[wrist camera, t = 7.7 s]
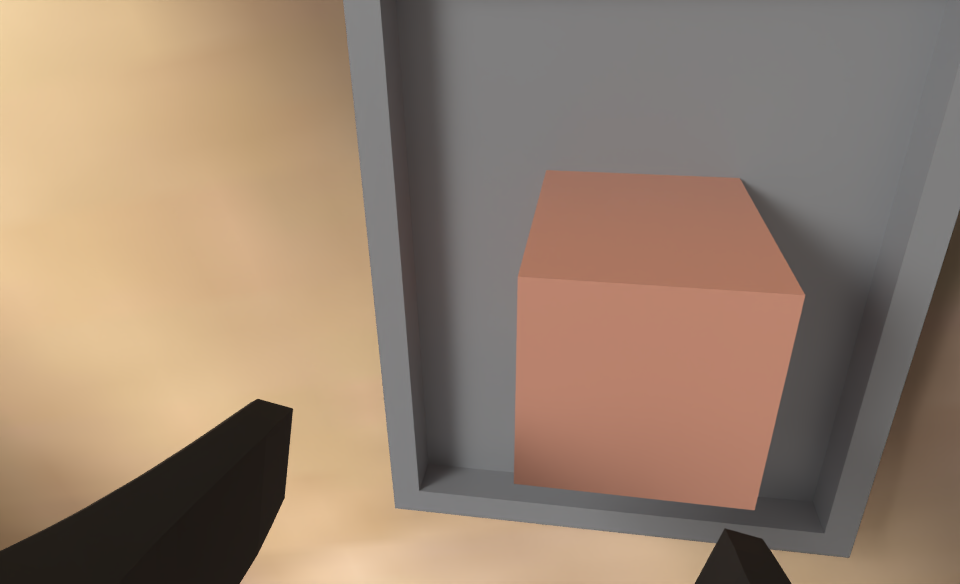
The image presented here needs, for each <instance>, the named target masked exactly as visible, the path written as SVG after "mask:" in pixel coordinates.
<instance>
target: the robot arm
mask: <svg viewBox="0 0 960 584" xmlns="http://www.w3.org/2000/svg"><path fill="white" fill-rule="evenodd" d="M292 413H293V408H289V407H285V406H282V405H278V404H274V403H271V402H267V401H264V400H260V399H257V400H255V401H253V402H251V403H250V404H248V405H247V406H245V407H244V408H242V409H241V410H239V411H238V412H236V413H235V414H233V415H232V416H231V417H229V418H228V419H226V420H225V421H223V422H222V423H220V424H219V425H217V426H216V427H215V428H213V429H212V430H210V431H209V432H207V433H206V434H204V435H203V436H201V437H200V438H198V439H197V440H195V441H194V442H192V443H191V444H189V445H188V446H186V447H185V448H183V449H182V450H180V451H179V452H177V453H175V454H174V455H172V456H171V457H169V458H168V459H166V460H164V461H163V462H161V463H160V464H158V465H157V466H155V467H153V468H152V469H150V470H149V471H147V472H146V473H144V474H142V475H141V476H139V477H137V478H136V479H134V480H132V481H131V482H129V483H127V484H126V485H124V486H122V487H120V488H119V489H117V490H115V491H113V492H112V493H110V494H108V495H107V496H105V497H103V498H101V499H100V500H98V501H96V502H94V503H93V504H91V505H89V506H88V507H86V508H84V509H82V510H80V511H78V512H77V513H75V514H73V515H71V516H69V517H67V518H65V519H63V520H62V521H60V522H58V523H56V524H54V525H52V526H50V527H48V528H46V529H44V530H42V531H40V532H38V533H36V534H34V535H32V536H30V537H28V538H26V539H24V540H22V541H20V542H18V543H16V544H14V545H12V546H10V547H8V548H5V549H3V550H1V551H0V584H240V582H241V581H242V579H243V577H244V576H245V574H246V573H247V571H248V569H249V568H250V566H251V564H252V563H253V561H254V560H255V558H256V556H257V555H258V553H259V551H260V549H261V547H262V544H263V542H264V540H265V538H266V536H267V534H268V532H269V530H270V528H271V526H272V524H273V522H274V520H275V517H276V515H277V513H278V511H279V509H280V507H281V505H282V502H283V500H284V498H285V487H286V477H287V466H288V455H289V445H290V434H291V424H292ZM695 584H791V582H790V581H789V579H788V577H787V576H786V574H785V573H784V571H783V569H782V568H781V566H780V565H779V563H778V562H777V560H776V558H775V557H774V555H773V554H772V552H771V551H770V549H769V548H768V546H767V545H766V543H765V542H764V540H763V539H762V538H758V537H755V536H751V535H747V534H744V533H740V532H737V531H733V530H729V529H726V528H725V529H724V530H723V532H722V534H721V536H720V538H719V540H718V541H717V543H716V545H715V547H714V549H713V551H712V553H711V554H710V556H709V558H708V560H707V562H706V564H705V566H704V567H703V569H702V571H701V573H700V575H699V577H698V579H697V580H696V582H695Z"/></svg>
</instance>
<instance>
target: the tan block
mask: <svg viewBox="0 0 960 584" xmlns="http://www.w3.org/2000/svg"><path fill="white" fill-rule="evenodd" d="M804 299H805V294H804V292H803V290H802V288H801V287H800V285H799V283H798V281H797V280H796V278H795V276H794V274H793V272H792V271H791V269H790V267H789V265H788V263H787V262H786V260H785V258H784V256H783V255H782V253H781V251H780V249H779V247H778V246H777V244H776V242H775V240H774V238H773V237H772V235H771V233H770V231H769V230H768V228H767V226H766V224H765V222H764V221H763V219H762V217H761V215H760V213H759V212H758V210H757V208H756V206H755V205H754V203H753V201H752V199H751V197H750V196H749V194H748V192H747V190H746V188H745V187H744V185H743V183H742V181H741V180H740V178H727V177H703V176H678V175H654V174H629V173H605V172H580V171H556V170H546V173H545V177H544V180H543V184H542V188H541V192H540V195H539V199H538V203H537V206H536V210H535V214H534V218H533V221H532V225H531V229H530V233H529V236H528V240H527V244H526V248H525V251H524V255H523V259H522V263H521V266H520V270H519V274H518V288H517V341H516V394H515V446H514V484H520V485H529V486H538V487H548V488H557V489H566V490H575V491H584V492H593V493H602V494H611V495H620V496H629V497H638V498H647V499H656V500H665V501H674V502H683V503H693V504H702V505H711V506H720V507H729V508H738V509H747V510H755V506H756V502H757V498H758V494H759V489H760V485H761V481H762V477H763V472H764V468H765V464H766V460H767V455H768V451H769V447H770V443H771V439H772V434H773V430H774V426H775V422H776V417H777V413H778V409H779V405H780V400H781V396H782V392H783V388H784V383H785V379H786V375H787V371H788V366H789V362H790V358H791V354H792V349H793V345H794V341H795V337H796V333H797V328H798V324H799V320H800V316H801V311H802V307H803V303H804Z"/></svg>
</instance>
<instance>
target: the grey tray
mask: <svg viewBox="0 0 960 584" xmlns="http://www.w3.org/2000/svg"><path fill="white" fill-rule="evenodd" d="M343 2H344V12H345V22H346V32H347V41H348V51H349V61H350V71H351V81H352V90H353V100H354V110H355V120H356V129H357V139H358V149H359V159H360V168H361V178H362V188H363V198H364V207H365V217H366V227H367V237H368V246H369V256H370V266H371V276H372V285H373V295H374V305H375V315H376V324H377V334H378V344H379V354H380V364H381V373H382V383H383V393H384V403H385V412H386V422H387V432H388V442H389V451H390V461H391V471H392V481H393V490H394V500H395V508H399V509H408V510H417V511H426V512H435V513H444V514H453V515H463V516H472V517H481V518H490V519H499V520H508V521H517V522H526V523H536V524H545V525H554V526H563V527H572V528H581V529H590V530H599V531H609V532H618V533H627V534H636V535H645V536H654V537H663V538H672V539H682V540H691V541H700V542H709V543H717V541H718V540H719V538H720V536H721V534H722V532H723V530H724V529H725V528H726V529H729V530H733V531H737V532H740V533H744V534H747V535H751V536H755V537H758V538H762V539H763V540H764V542H765V543H766V545H767V546H768V548H769V549H773V550H782V551H791V552H800V553H809V554H819V555H828V556H837V557H846V558H849V557H850V554H851V551H852V548H853V545H854V541H855V538H856V535H857V532H858V529H859V526H860V523H861V519H862V516H863V513H864V510H865V507H866V504H867V500H868V497H869V494H870V491H871V488H872V485H873V481H874V478H875V475H876V472H877V469H878V466H879V462H880V459H881V456H882V453H883V450H884V447H885V444H886V440H887V437H888V434H889V431H890V428H891V425H892V421H893V418H894V415H895V412H896V409H897V406H898V402H899V399H900V396H901V393H902V390H903V387H904V384H905V380H906V377H907V374H908V371H909V368H910V365H911V361H912V358H913V355H914V352H915V349H916V346H917V342H918V339H919V336H920V333H921V330H922V327H923V324H924V320H925V317H926V314H927V311H928V308H929V305H930V301H931V298H932V295H933V292H934V289H935V286H936V282H937V279H938V276H939V273H940V270H941V267H942V264H943V260H944V257H945V254H946V251H947V248H948V245H949V241H950V238H951V235H952V232H953V229H954V226H955V222H956V219H957V216H958V213H959V210H960V0H343ZM546 170H556V171H580V172H605V173H629V174H654V175H678V176H703V177H727V178H740V180H741V181H742V183H743V185H744V187H745V188H746V190H747V192H748V194H749V196H750V197H751V199H752V201H753V203H754V205H755V206H756V208H757V210H758V212H759V213H760V215H761V217H762V219H763V221H764V222H765V224H766V226H767V228H768V230H769V231H770V233H771V235H772V237H773V238H774V240H775V242H776V244H777V246H778V247H779V249H780V251H781V253H782V255H783V256H784V258H785V260H786V262H787V263H788V265H789V267H790V269H791V271H792V272H793V274H794V276H795V278H796V280H797V281H798V283H799V285H800V287H801V288H802V290H803V292H804V294H805V299H804V303H803V307H802V311H801V316H800V320H799V324H798V328H797V333H796V337H795V341H794V345H793V349H792V354H791V358H790V362H789V366H788V371H787V375H786V379H785V383H784V388H783V392H782V396H781V400H780V405H779V409H778V413H777V417H776V422H775V426H774V430H773V434H772V439H771V443H770V447H769V451H768V455H767V460H766V464H765V468H764V472H763V477H762V481H761V485H760V489H759V494H758V498H757V502H756V506H755V510H747V509H738V508H729V507H720V506H711V505H702V504H693V503H683V502H674V501H665V500H656V499H647V498H638V497H629V496H620V495H611V494H602V493H593V492H584V491H575V490H566V489H557V488H548V487H538V486H529V485H520V484H514V446H515V394H516V341H517V288H518V274H519V270H520V266H521V263H522V259H523V255H524V251H525V248H526V244H527V240H528V236H529V233H530V229H531V225H532V221H533V218H534V214H535V210H536V206H537V203H538V199H539V195H540V192H541V188H542V184H543V180H544V177H545V173H546Z"/></svg>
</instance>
